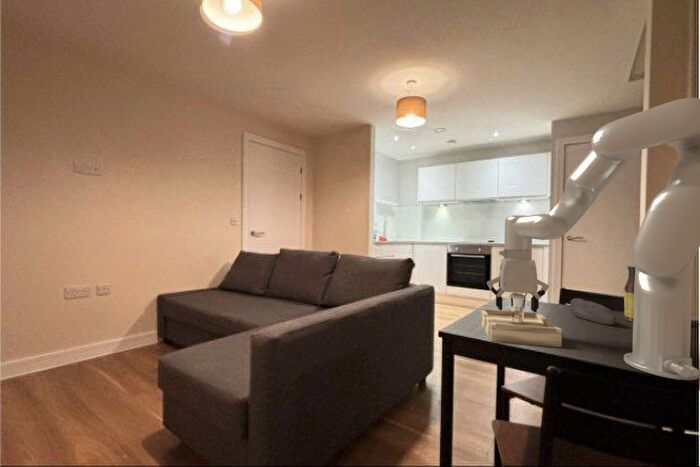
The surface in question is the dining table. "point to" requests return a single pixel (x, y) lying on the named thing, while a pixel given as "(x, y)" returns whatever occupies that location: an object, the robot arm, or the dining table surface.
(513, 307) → the milkshake
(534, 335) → the wooden tray
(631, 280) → the sauce bottle
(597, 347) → the dining table surface
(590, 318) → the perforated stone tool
